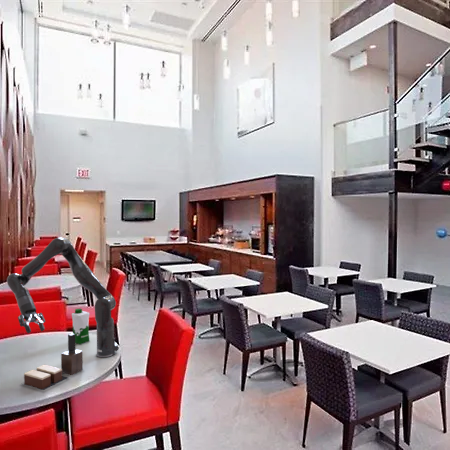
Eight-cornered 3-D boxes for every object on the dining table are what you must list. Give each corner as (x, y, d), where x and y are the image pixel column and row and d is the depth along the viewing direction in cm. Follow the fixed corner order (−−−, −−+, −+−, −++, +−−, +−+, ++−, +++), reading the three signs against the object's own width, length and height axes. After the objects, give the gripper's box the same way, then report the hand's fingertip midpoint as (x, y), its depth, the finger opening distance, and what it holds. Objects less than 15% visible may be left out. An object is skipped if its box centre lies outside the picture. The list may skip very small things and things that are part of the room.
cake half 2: (36, 378, 178) (36, 367, 178) (44, 374, 182) (44, 364, 182) (54, 383, 173) (54, 372, 173) (62, 379, 177) (62, 368, 177)
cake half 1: (24, 383, 172) (24, 373, 172) (32, 379, 176) (32, 369, 176) (42, 389, 167) (42, 378, 167) (50, 384, 171) (50, 374, 171)
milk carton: (82, 338, 236) (82, 307, 235) (91, 341, 231) (91, 309, 231) (70, 342, 229) (69, 310, 228) (79, 345, 224) (79, 312, 223)
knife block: (61, 374, 184) (61, 353, 184) (72, 368, 191) (72, 348, 190) (71, 376, 181) (71, 355, 181) (82, 371, 188) (82, 350, 187)
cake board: (21, 385, 172) (21, 383, 172) (46, 373, 185) (46, 371, 185) (43, 392, 166) (43, 390, 166) (68, 379, 179) (68, 377, 179)
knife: (67, 372, 186) (67, 334, 185) (71, 370, 188) (71, 333, 187) (72, 373, 184) (72, 335, 183) (76, 371, 186) (75, 334, 186)
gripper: (19, 302, 198) (29, 329, 192) (41, 301, 211) (51, 326, 205) (10, 310, 199) (20, 336, 194) (33, 308, 213) (42, 333, 207)
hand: (36, 331), depth 200 cm, fingers open, 8 cm apart
